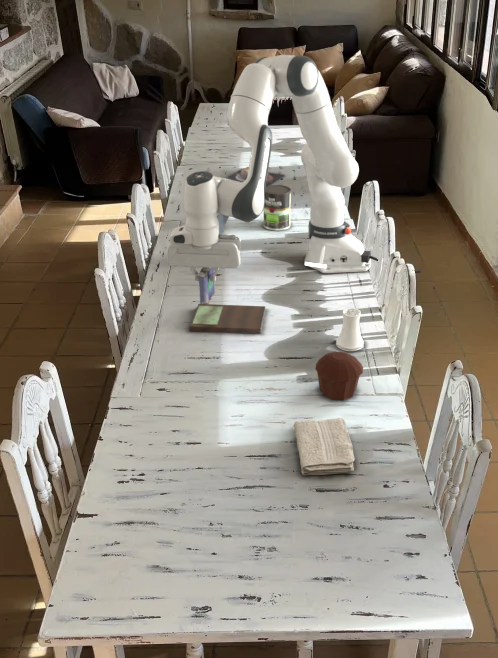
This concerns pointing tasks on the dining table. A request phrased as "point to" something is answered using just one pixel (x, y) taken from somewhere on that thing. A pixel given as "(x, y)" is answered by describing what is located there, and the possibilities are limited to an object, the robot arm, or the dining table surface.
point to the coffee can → (277, 207)
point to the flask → (206, 285)
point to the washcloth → (324, 447)
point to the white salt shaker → (350, 331)
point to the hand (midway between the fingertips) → (205, 280)
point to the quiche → (243, 173)
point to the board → (228, 318)
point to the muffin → (338, 375)
